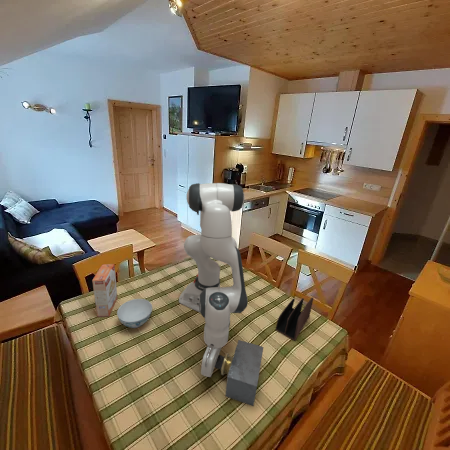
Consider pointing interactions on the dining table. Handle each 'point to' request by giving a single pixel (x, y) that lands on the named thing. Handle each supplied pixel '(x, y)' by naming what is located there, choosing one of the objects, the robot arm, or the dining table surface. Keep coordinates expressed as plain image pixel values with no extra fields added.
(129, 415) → the dining table surface
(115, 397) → the dining table surface
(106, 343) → the dining table surface
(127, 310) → the chinaware
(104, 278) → the cracker box
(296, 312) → the letter holder
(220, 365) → the brass flanged shaft
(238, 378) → the housing
